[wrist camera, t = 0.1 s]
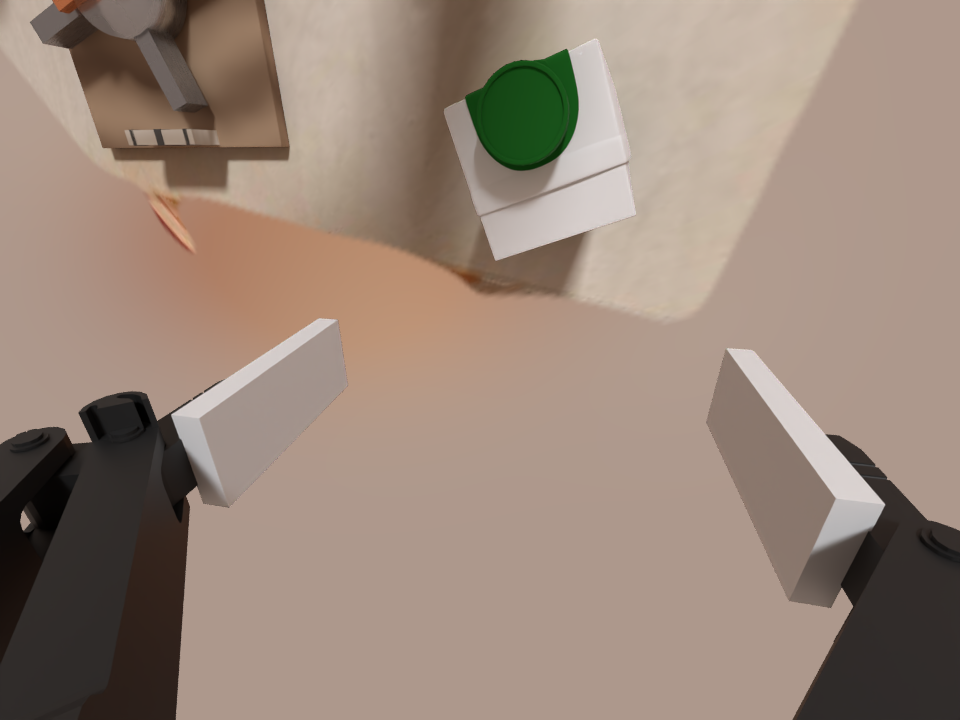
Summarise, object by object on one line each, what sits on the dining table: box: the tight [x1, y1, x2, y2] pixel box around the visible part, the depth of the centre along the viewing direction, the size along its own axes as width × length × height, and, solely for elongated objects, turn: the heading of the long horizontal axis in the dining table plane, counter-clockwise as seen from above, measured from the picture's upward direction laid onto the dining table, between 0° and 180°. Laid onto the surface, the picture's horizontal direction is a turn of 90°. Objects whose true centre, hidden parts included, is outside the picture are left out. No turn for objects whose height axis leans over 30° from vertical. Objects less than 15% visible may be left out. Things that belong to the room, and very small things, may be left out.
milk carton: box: [444, 39, 636, 261], centre depth 28 cm, size 9×9×20 cm
